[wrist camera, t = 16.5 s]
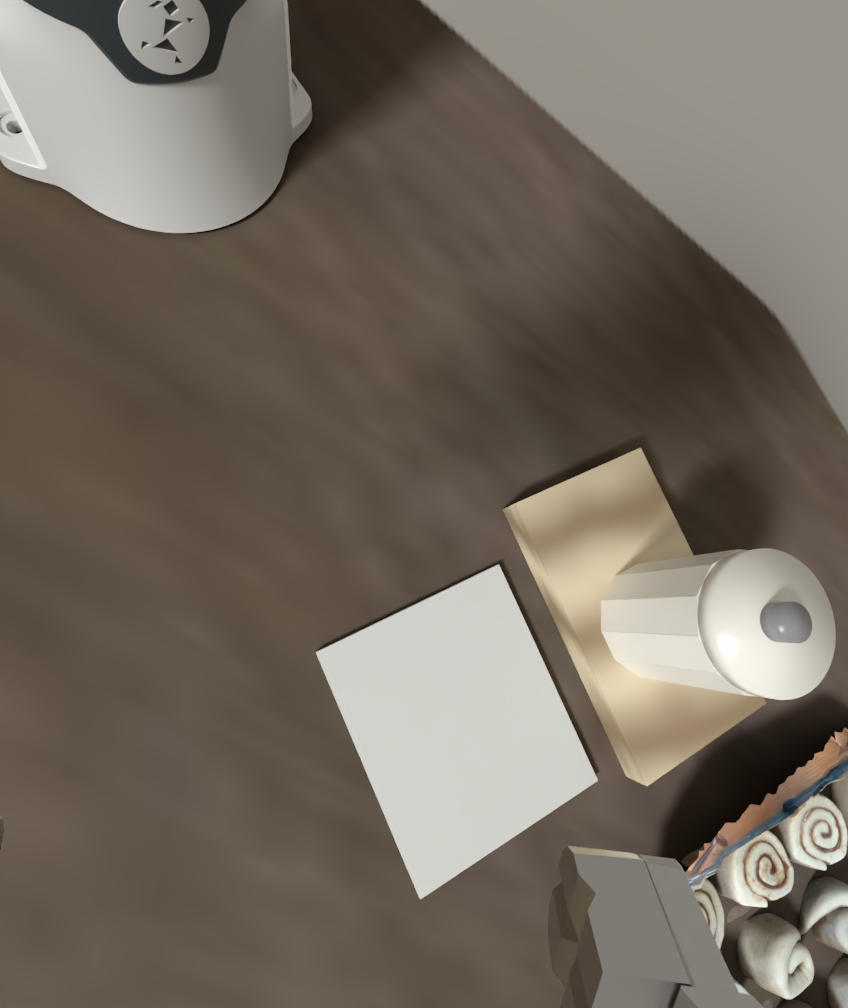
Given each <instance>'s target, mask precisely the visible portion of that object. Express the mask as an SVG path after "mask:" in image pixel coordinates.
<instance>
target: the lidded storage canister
mask: <svg viewBox="0 0 848 1008" xmlns="http://www.w3.org/2000/svg"><path fill="white" fill-rule="evenodd" d="M601 632H602V634H603V636H604V638H605V640H606V642H607V644H608V647H609V649H610V651H611V653H612V655H613V657H614V659H615V660H616V661H617V662H619V663H620V664H621V665H623V666H624V667H625V668H627V669H628V670H629V671H631V672H632V673H634V674H635V675H636V676H638V677H642V678H648V679H653V680H659V681H665V682H671V683H676V684H682V685H688V686H693V687H699V688H705V689H710V690H716V691H722V692H728V693H733V694H739V695H745V696H759V697H765V698H771V699H778V700H790V699H795V698H799V697H801V696H804V695H806V694H807V693H809V692H811V691H812V690H813V689H814V688H815V687H817V686H818V684H819V683H820V682H821V681H822V680H823V678H824V676H825V675H826V673H827V671H828V669H829V667H830V665H831V662H832V658H833V654H834V649H835V638H836V636H835V623H834V617H833V612H832V608H831V605H830V602H829V600H828V597H827V595H826V593H825V591H824V589H823V587H822V586H821V584H820V582H819V581H818V579H817V578H816V577H815V575H814V574H813V573H812V572H811V571H810V570H809V569H808V568H807V567H806V566H805V565H804V564H803V563H802V562H801V561H799V560H798V559H796V558H795V557H793V556H791V555H789V554H787V553H785V552H782V551H780V550H775V549H767V548H762V549H754V550H742V549H736V550H729V551H722V552H715V553H709V554H702V555H695V556H688V557H681V558H674V559H667V560H660V561H653V562H646V563H639V564H636V565H634V566H632V567H630V568H628V569H627V570H625V571H623V572H621V573H619V574H617V575H615V576H614V578H613V580H612V582H611V584H610V585H609V587H608V589H607V591H606V593H605V595H604V596H603V598H602V601H601Z"/></svg>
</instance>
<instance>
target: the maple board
mask: <svg viewBox="0 0 848 1008" xmlns="http://www.w3.org/2000/svg"><path fill="white" fill-rule="evenodd" d="M503 511H504V513H505V516H506V518H507V520H508V522H509V524H510V526H511V529H512V531H513V533H514V535H515V537H516V539H517V542H518V544H519V546H520V548H521V550H522V552H523V555H524V557H525V559H526V561H527V563H528V565H529V568H530V570H531V572H532V574H533V576H534V578H535V580H536V583H537V585H538V587H539V589H540V591H541V593H542V596H543V598H544V600H545V602H546V604H547V606H548V609H549V611H550V613H551V615H552V617H553V619H554V622H555V624H556V626H557V628H558V630H559V632H560V634H561V637H562V639H563V641H564V643H565V645H566V647H567V650H568V652H569V654H570V656H571V658H572V660H573V663H574V665H575V667H576V669H577V671H578V673H579V676H580V678H581V680H582V682H583V684H584V686H585V689H586V691H587V693H588V695H589V697H590V699H591V701H592V704H593V706H594V708H595V710H596V712H597V714H598V717H599V719H600V721H601V723H602V725H603V727H604V730H605V732H606V734H607V736H608V738H609V740H610V743H611V745H612V747H613V749H614V751H615V753H616V755H617V758H618V760H619V762H620V764H621V766H622V768H623V771H624V773H625V775H626V777H628V778H630V779H632V780H634V781H637V782H639V783H641V784H643V785H645V786H648V785H650V784H651V783H653V782H654V781H656V780H657V779H658V778H660V777H661V776H663V775H664V774H666V773H667V772H668V771H670V770H671V769H673V768H674V767H676V766H677V765H678V764H680V763H681V762H683V761H684V760H686V759H687V758H689V757H690V756H691V755H693V754H694V753H696V752H697V751H699V750H700V749H701V748H703V747H704V746H706V745H707V744H709V743H710V742H711V741H713V740H714V739H716V738H717V737H719V736H720V735H722V734H723V733H724V732H726V731H727V730H729V729H730V728H732V727H733V726H734V725H736V724H737V723H739V722H740V721H742V720H743V719H744V718H746V717H747V716H749V715H750V714H752V713H753V712H755V711H756V710H757V709H759V708H760V707H762V706H763V705H765V704H766V702H765V700H764V698H763V697H759V696H745V695H739V694H733V693H728V692H722V691H716V690H710V689H705V688H699V687H693V686H688V685H682V684H676V683H671V682H665V681H659V680H653V679H648V678H642V677H638V676H636V675H635V674H634V673H632V672H631V671H629V670H628V669H627V668H625V667H624V666H623V665H621V664H620V663H619V662H617V661H616V660H615V659H614V657H613V655H612V653H611V651H610V649H609V647H608V644H607V642H606V640H605V638H604V636H603V634H602V632H601V601H602V598H603V596H604V595H605V593H606V591H607V589H608V587H609V585H610V584H611V582H612V580H613V578H614V576H615V575H617V574H619V573H621V572H623V571H625V570H627V569H628V568H630V567H632V566H634V565H636V564H639V563H646V562H653V561H660V560H667V559H674V558H681V557H688V556H694V555H693V553H692V551H691V549H690V547H689V545H688V543H687V541H686V539H685V537H684V535H683V533H682V531H681V529H680V527H679V525H678V522H677V520H676V518H675V516H674V514H673V512H672V510H671V508H670V506H669V504H668V502H667V500H666V498H665V496H664V494H663V492H662V490H661V488H660V486H659V484H658V482H657V480H656V478H655V476H654V474H653V472H652V469H651V467H650V465H649V463H648V461H647V459H646V457H645V455H644V453H643V451H642V449H641V448H638V449H636V450H634V451H632V452H629V453H627V454H625V455H623V456H620V457H618V458H616V459H614V460H611V461H609V462H607V463H605V464H602V465H600V466H598V467H596V468H593V469H591V470H589V471H587V472H584V473H582V474H580V475H578V476H575V477H573V478H571V479H569V480H566V481H564V482H562V483H560V484H557V485H555V486H553V487H551V488H548V489H546V490H544V491H542V492H539V493H537V494H535V495H533V496H530V497H528V498H526V499H524V500H521V501H519V502H517V503H515V504H513V505H511V506H509V507H506V508H504V509H503Z"/></svg>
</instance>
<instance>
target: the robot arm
mask: <svg viewBox="0 0 848 1008" xmlns="http://www.w3.org/2000/svg"><path fill="white" fill-rule="evenodd" d="M311 121H312V103H311V99H310V97H309V95H308V94H307V92H306V91H305V89H304V88H303V87H302V85H301V84H300V82H299V81H298V80H297V78H296V77H295V75H294V74H293V72H292V71H291V53H290V35H289V18H288V3H287V0H0V160H1V162H2V164H3V165H4V166H5V167H6V168H8V169H9V170H11V171H13V172H15V173H17V174H20V175H22V176H25V177H28V178H31V179H35V180H38V181H42V182H46V183H49V184H53V185H57V186H59V187H61V188H63V189H65V190H66V191H68V192H70V193H71V194H73V195H74V196H76V197H77V198H79V199H80V200H82V201H83V202H84V203H86V204H87V205H89V206H90V207H92V208H94V209H95V210H97V211H99V212H101V213H102V214H104V215H106V216H108V217H111V218H113V219H115V220H117V221H120V222H123V223H125V224H128V225H131V226H135V227H138V228H142V229H147V230H152V231H158V232H167V233H194V232H202V231H208V230H213V229H217V228H221V227H224V226H227V225H229V224H232V223H234V222H237V221H239V220H241V219H243V218H244V217H246V216H248V215H249V214H251V213H252V212H254V211H255V210H256V209H258V208H259V207H260V206H261V205H262V204H263V203H264V202H265V201H266V200H267V199H268V198H269V197H270V196H271V194H272V193H273V192H274V190H275V189H276V187H277V185H278V183H279V182H280V179H281V177H282V175H283V172H284V168H285V164H286V160H287V156H288V153H289V150H290V147H291V145H292V144H293V143H294V142H295V141H296V140H297V139H298V138H299V137H300V135H301V134H302V133H303V132H304V131H305V130H306V129H307V128H308V126H309V125H310V123H311ZM18 131H21V133H18V134H14V133H15V132H18ZM3 833H4V829H3V821H2V817H1V816H0V849H1V844H2V839H3ZM559 869H560V874H561V879H562V883H560V884H559V885H558V886H556V887H555V888H554V889H553V891H552V896H551V900H550V905H549V917H548V938H549V950H550V957H551V963H552V970H553V972H554V974H555V975H556V976H557V978H558V979H559V981H560V982H561V983H562V985H563V986H564V988H565V992H564V996H563V999H562V1003H561V1007H560V1008H764V1007H763V1006H762V1005H761V1004H760V1003H759V1002H758V1001H757V1000H756V999H755V998H754V997H753V996H752V995H748V994H743V993H739V992H738V989H737V987H736V985H735V983H734V981H733V978H732V976H731V974H730V972H729V970H728V967H727V965H726V963H725V961H724V959H723V956H722V954H721V952H720V950H719V947H718V945H717V943H716V941H715V939H714V936H713V934H712V932H711V930H710V928H709V925H708V923H707V921H706V919H705V917H704V914H703V912H702V910H701V908H700V905H699V903H698V901H697V899H696V897H695V894H694V892H693V890H692V888H691V886H690V883H689V881H688V879H687V877H686V875H685V872H684V870H683V868H682V866H681V865H680V864H679V863H678V862H677V861H676V860H675V859H672V858H663V857H655V856H647V855H636V854H634V853H626V852H618V851H609V850H600V849H592V848H583V847H574V846H566V848H565V849H564V850H563V852H562V856H561V859H560V863H559Z"/></svg>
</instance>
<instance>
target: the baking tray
mask: <svg viewBox="0 0 848 1008" xmlns="http://www.w3.org/2000/svg"><path fill="white" fill-rule="evenodd" d="M835 740H836V741H835ZM830 783H832V784H831V798H832V801H831V800H830V799H828V798H827V797H825V796H824V795H821V794H819V793H820V791H822V790H823V789H824V788H825V787H826V786H827V785H828V784H830ZM846 827H847V828H848V729H846V728H844V729H843V732H835V739H834V738H833V737H832V736H831V738H830V740H829V741H828V742H827V743H826V745H825V748H824V751H822V752H819V753H816V754H814V758H813V760H809V761H808V762H807V764H806V766H804V767H798V768H797V770H796V772H795V773H794V775H792V776H788V778H787V779H786V781H785V782H784V783H782V784H781V785H779V787H778V790H777V793H776V794H774V795H772V794H770V793H768V794H767V795H766V797H765V799H764V800H763V802H762V803H761V805H753V804H750V805H749V807H748V808H747V810H746V811H745V812H744V813H743V814H742V816H741V817H740V819H739V820H738V821H737V822H736V823H725V824H724V826H723V827H722V828H721V830H720V831H719V832H718V834H717V835H716V836H715V838H714V839H713V840H712V842H708V843H704V845H703V846H702V847H700V848H699V849H698V850H696V851H694V852H691V853H690V854H689V855H687V856H686V857H685V858H684V859H682V860H681V863H682V864H683V865H684V866H685V867H687V868H688V870H687V871H686V872H685V875H686V877H687V879H688V881H689V883H690V886H691V888H692V890H693V892H694V894H695V897H696V899H697V901H698V903H699V905H700V908H701V910H702V912H703V914H704V917H705V919H706V921H707V923H708V925H709V928H710V930H711V932H712V934H713V936H714V939H715V941H716V943H717V945H718V947H719V950H720V948H721V944H722V940H723V937H724V910H723V907H722V904H721V901H720V898H719V896H718V895H722V896H725V897H727V898H730V899H732V900H734V901H736V902H738V903H739V904H741V905H738V906H735V907H733V909H731V910H730V912H729V913H728V918H727V921H728V923H730V922H732V921H733V920H734V919H736V918H739V917H741V916H743V915H744V913H746V912H748V911H749V909H751V908H752V906H755V907H767V906H768V903H767V901H768V900H777V899H779V898H781V897H783V896H785V895H786V894H787V893H789V892H790V891H791V889H792V886H793V883H794V869H793V866H792V864H791V862H790V861H792V862H794V863H797V864H800V865H803V866H806V867H809V868H813V869H818V870H823V871H825V870H826V869H827V865H831V864H833V863H836V862H838V861H840V860H841V859H843V858H844V856H845V855H846V851H847V839H848V835H847V828H846ZM709 876H710V877H711V882H710V881H709V880H708V879H707V878H708V877H709ZM727 921H726V922H727ZM811 927H812V929H813V934H814V937H815V939H816V940H818V941H820V942H823V943H824V944H826V945H828V946H830V947H832V948H835V949H837V950H839V951H841V952H843V953H846V954H848V884H846V883H844V882H842V881H839V880H838V879H836V878H833V877H829V876H825V877H819V878H816V879H814V880H812V881H811V882H810V883H809V885H808V886H807V888H806V890H805V892H804V895H803V899H802V904H801V911H800V919H799V925H798V930H797V929H796V928H795V927H794V926H793V925H792V924H790V923H789V922H787V921H786V920H784V919H782V918H780V917H779V916H777V915H775V914H773V913H763V914H760V915H755V916H753V917H751V918H749V919H747V920H745V921H744V923H743V925H742V927H741V930H740V933H739V936H738V940H737V959H738V964H739V968H740V971H741V972H742V974H743V975H744V976H746V977H748V978H750V979H751V980H753V981H754V982H756V983H757V984H758V985H759V986H761V987H762V988H764V989H765V990H767V991H770V992H772V993H774V994H776V995H778V996H780V997H782V998H784V999H789V1000H788V1001H786V1002H784V1003H782V1004H780V1005H779V1006H778V1007H777V1008H812V1007H810V1006H809V1005H807V1004H806V1003H804V1002H801V1001H798V1000H795V999H793V998H795V997H796V996H798V995H799V994H800V993H801V992H803V991H804V990H805V988H807V987H808V986H809V985H810V983H811V982H812V981H813V978H814V965H813V961H812V958H811V955H810V953H809V951H808V949H807V948H806V947H805V946H804V945H803V944H801V943H800V940H801V936H800V935H803V934H805V933H806V932H807V931H808V930H809V929H810V928H811ZM732 978H733V977H732ZM733 981H734V983H735V985H736V987H737V989H738V992H739V993H743V994H748V995H750V994H749V993H748V992H747V990H746V989H745V988H744V987H743V986H742V985H740V984H739V983H738V982H737V981H736V980H735V979H734V978H733ZM827 994H828V1001H829V1005H830V1008H848V957H844V958H842V959H840V960H839V961H838V962H837V963H836V964H835V965H834V967H833V968H832V970H831V972H830V974H829V976H828V980H827ZM790 999H792V1000H790ZM772 1001H773V999H767V1000H766V1001H765V1002H764V1003H763V1005H762V1006H763V1007H764V1008H773V1002H772Z"/></svg>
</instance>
